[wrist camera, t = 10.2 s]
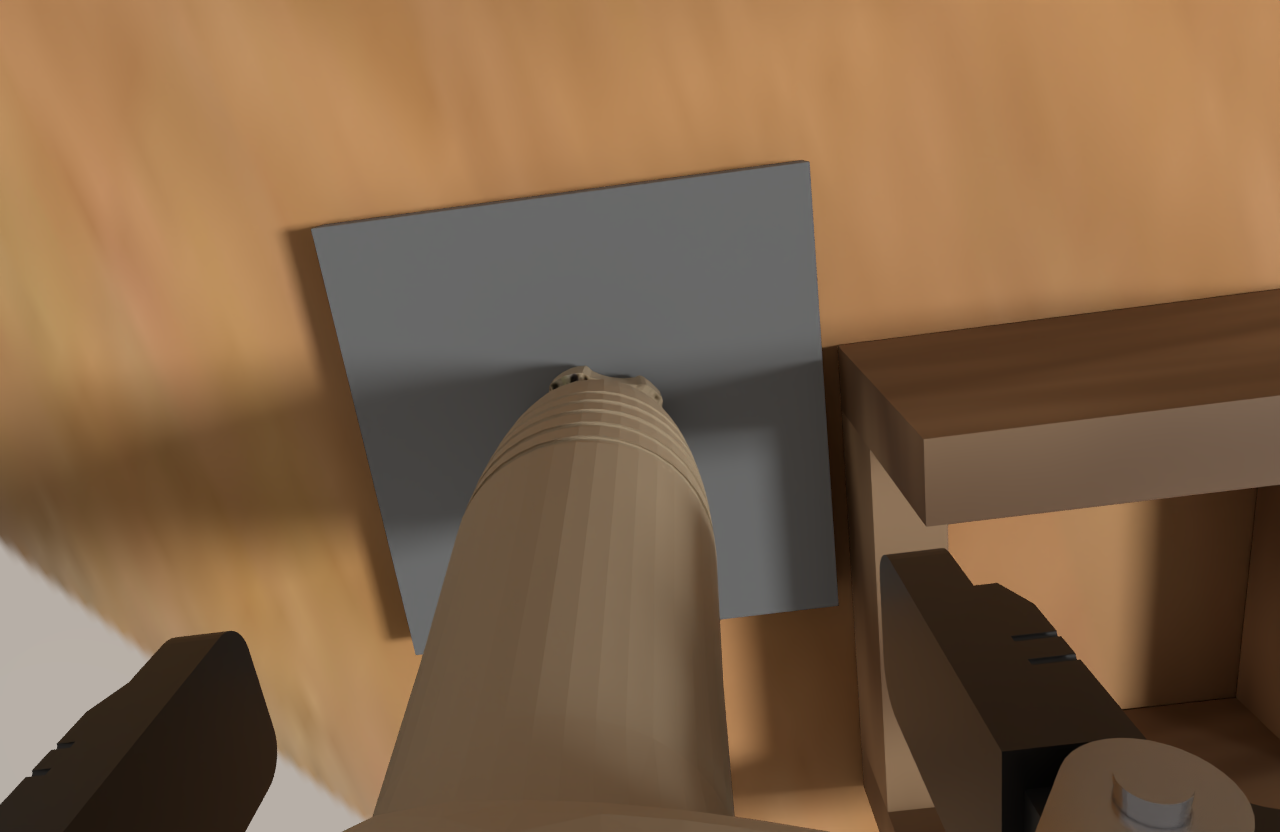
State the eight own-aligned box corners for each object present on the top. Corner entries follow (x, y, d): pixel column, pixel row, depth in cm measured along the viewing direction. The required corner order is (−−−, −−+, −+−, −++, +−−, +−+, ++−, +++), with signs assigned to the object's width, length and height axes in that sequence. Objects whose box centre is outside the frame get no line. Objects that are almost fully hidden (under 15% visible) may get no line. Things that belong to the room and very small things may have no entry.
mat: (324, 224, 18) (310, 228, 17) (801, 159, 18) (809, 161, 17) (423, 636, 21) (415, 654, 21) (831, 588, 21) (838, 605, 20)
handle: (416, 383, 19) (-302, 1244, 4) (700, 272, 18) (965, 860, 4) (510, 572, 20) (202, 1686, 6) (776, 476, 19) (1180, 1474, 5)
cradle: (837, 345, 19) (923, 439, 13) (1349, 280, 19) (1660, 348, 13) (863, 786, 23) (939, 1005, 17) (1289, 739, 23) (1511, 947, 17)
